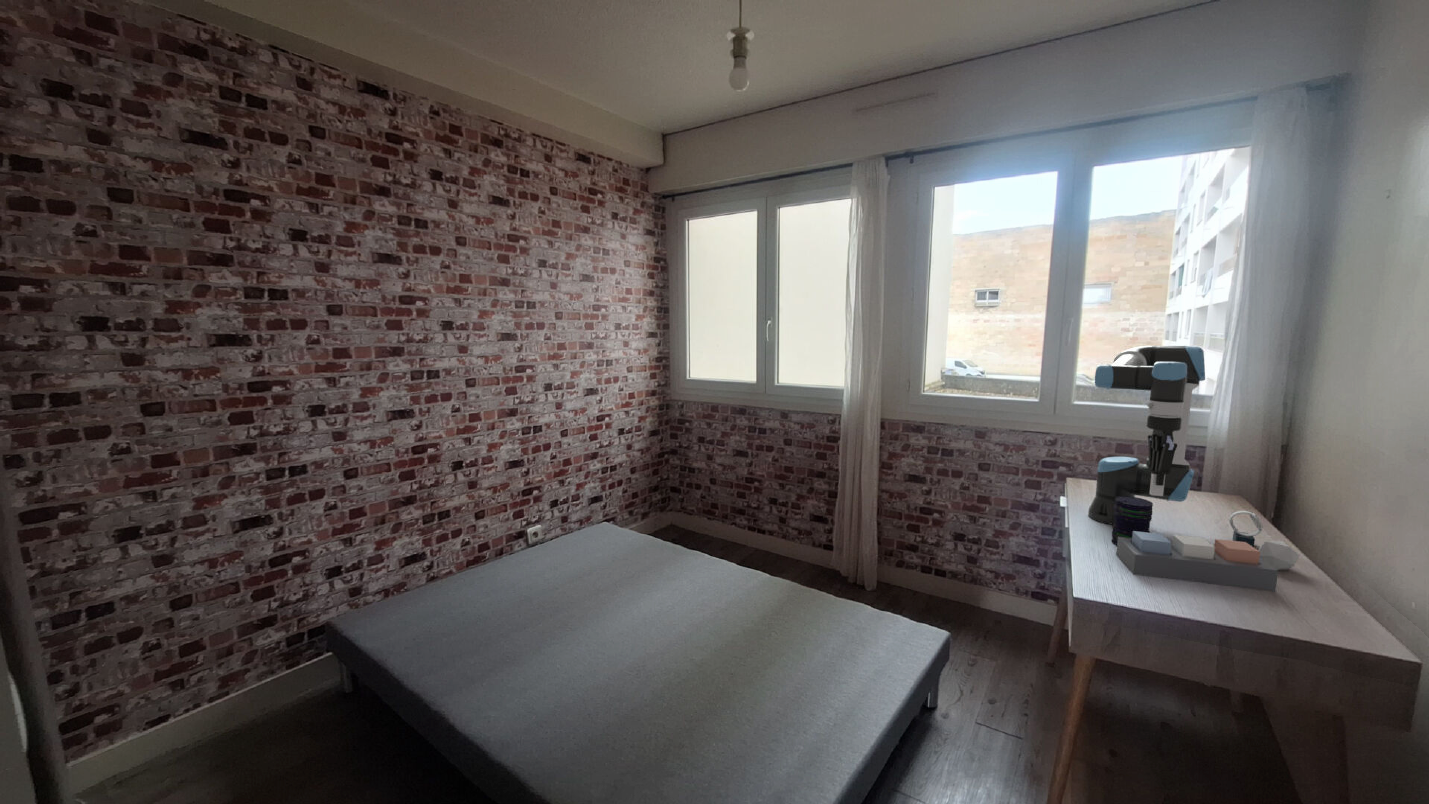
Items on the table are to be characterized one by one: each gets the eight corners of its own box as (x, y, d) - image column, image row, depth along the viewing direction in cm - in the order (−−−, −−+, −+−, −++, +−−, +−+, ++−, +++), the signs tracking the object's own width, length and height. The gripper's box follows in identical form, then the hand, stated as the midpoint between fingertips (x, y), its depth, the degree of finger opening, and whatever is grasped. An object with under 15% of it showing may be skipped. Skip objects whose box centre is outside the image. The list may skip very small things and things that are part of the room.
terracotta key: (1213, 555, 158) (1215, 539, 157) (1243, 558, 156) (1245, 542, 155) (1226, 565, 152) (1228, 548, 151) (1257, 568, 149) (1260, 551, 149)
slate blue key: (1131, 546, 165) (1132, 531, 164) (1159, 549, 163) (1160, 533, 162) (1140, 555, 158) (1142, 539, 158) (1169, 559, 156) (1171, 542, 155)
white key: (1171, 550, 162) (1173, 535, 161) (1200, 553, 159) (1202, 537, 158) (1182, 560, 155) (1184, 543, 154) (1212, 563, 153) (1214, 547, 152)
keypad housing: (1116, 554, 170) (1117, 536, 169) (1245, 569, 159) (1247, 550, 158) (1133, 574, 157) (1135, 554, 156) (1275, 591, 146) (1278, 570, 145)
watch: (1262, 549, 172) (1266, 516, 171) (1227, 543, 177) (1231, 511, 176) (1258, 544, 177) (1263, 511, 175) (1225, 538, 182) (1229, 507, 180)
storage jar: (1133, 538, 182) (1137, 496, 180) (1156, 550, 173) (1161, 505, 170) (1103, 538, 182) (1107, 496, 180) (1125, 550, 173) (1129, 505, 171)
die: (1275, 563, 164) (1252, 536, 166) (1311, 559, 157) (1287, 531, 158) (1267, 578, 160) (1244, 551, 162) (1303, 576, 153) (1279, 547, 154)
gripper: (1139, 411, 162) (1132, 487, 165) (1158, 418, 150) (1149, 500, 153) (1170, 412, 160) (1161, 489, 163) (1192, 420, 147) (1182, 503, 151)
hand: (1156, 494), depth 158 cm, fingers closed
